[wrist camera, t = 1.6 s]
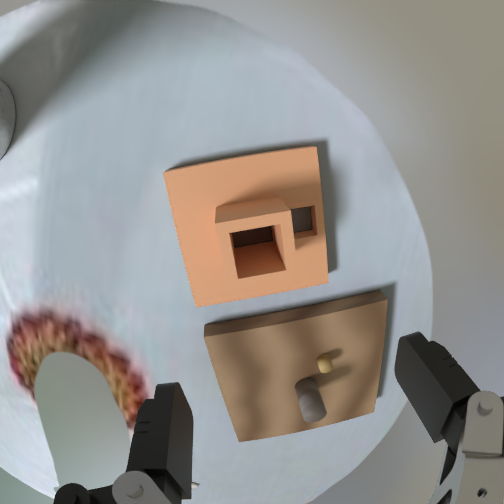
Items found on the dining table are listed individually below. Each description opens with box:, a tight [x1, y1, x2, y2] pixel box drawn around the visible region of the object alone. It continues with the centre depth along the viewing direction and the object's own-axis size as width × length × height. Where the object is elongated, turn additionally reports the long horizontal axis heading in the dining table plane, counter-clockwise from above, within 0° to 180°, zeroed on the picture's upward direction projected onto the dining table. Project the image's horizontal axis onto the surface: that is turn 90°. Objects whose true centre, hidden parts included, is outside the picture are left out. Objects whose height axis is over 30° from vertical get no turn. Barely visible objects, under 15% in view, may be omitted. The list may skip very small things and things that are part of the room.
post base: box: [204, 290, 388, 442], centre depth 31 cm, size 18×18×6 cm
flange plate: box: [163, 146, 329, 307], centre depth 24 cm, size 12×12×6 cm
